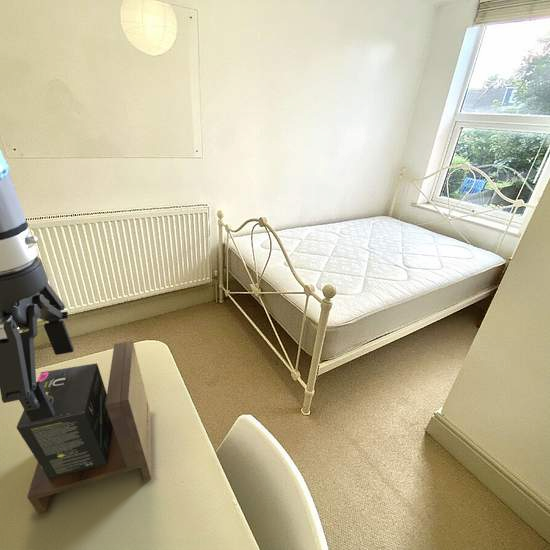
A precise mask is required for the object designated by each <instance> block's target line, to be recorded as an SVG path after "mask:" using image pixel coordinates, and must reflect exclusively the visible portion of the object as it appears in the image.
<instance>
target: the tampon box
mask: <svg viewBox="0 0 550 550" xmlns="http://www.w3.org/2000/svg"><path fill="white" fill-rule="evenodd" d="M39 381H40V382H41V384H42V386H43V388H44V390H45V392H46V394H47V397H48V399H49V401H50V403H51V405H52V407H53V409H54V411H55V414H54V417H52V418H47V419H43V420H39V421H34V422H31V421H30V419H29V417H28V415H27V413H26V412H25V410H24V409H23V411H22V414H21V416H20V418H19V420H18V422H17V425H16V426H15V428H16V429H17V431H18V432H19V434H20V436H21V438H22V439H23V441H24V442H25V443H26V446H27V447H28V448H29V450H30V452H31V453H32V454H33V456H34V458H35V460H36V461H37V463H38V462H39V464H40V466H41V467H42V469H43V471H44V472H45V474H46V476H47V478H48V479H50V478H53V477H58V476H62V475H66V474H70V473H74V472H78V471H82V470H86V469H90V468H94V467H98V466H102V465H106V464H107V459H108V453H109V446H110V439H111V432H112V423H111V420H110V417H109V414H108V411H107V408H106V405H105V404H106V397H107V389H106V387H105V383H104V380H103V378H102V374H101V371H100V368H99V364H98V363H97V362H96V363H95V362H94V363H89V364H84V365H77V366H72V367H71V366H70V367H65V368H59V369H53V370H47V371H40V374H39V376H38V379H37V380H36V382H39Z"/></svg>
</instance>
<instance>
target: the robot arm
mask: <svg viewBox="0 0 550 550" xmlns="http://www.w3.org/2000/svg"><path fill="white" fill-rule="evenodd" d="M38 239H39V238H38V237H37V236H36V235H32V233H31V230H30V226H29V223H28V221H27V218H26V215H25V212H24V210H23V207H22V204H21V201H20V198H19V195H18V193H17V190H16V188H15V185H14V182H13V179H12V176H11V172H10V165H9V164H8V161H7V160H6V158H5V157H4V155H3V153H2V150H0V396H1V401H2V403H3V404H7V403H10V402H17V401H19V403H20V404H21V406H22V408H23V411H24V410H25V412H26V413H27V415H28V417H29V419H30V421H31V422H34V421H39V420H43V419H47V418H52V417H54V414H55V411H54V409H53V407H52V405H51V403H50V401H49V399H48V397H47V394H46V392H45V390H44V388H43V386H42V384H41V382H40V381H39V382H37V374H36V372H37V371H36V355H35V338H36V337H37V336H38V334H39V332H38V320H39V319H40V320H42V321H44V322H45V323H44V325H43V329H44V331H45V333H46V336H47V339H48V340H49V343H50V345H51V347H52V351H53V352H54V355H55V356H58V355H63V354H71V353H74V350H75V348H74V345H73V343H72V339H71V337H70V335H69V332H68V329H67V326H66V323H65V321H64V320H66V319H69V312H68V311H64V310H65V308H66V306H65V304H64V302H63V301H62V299H61V298H60V297H59V295H58V294H57V293H56V291H55V290H54V288H52V286H51V285H50V283H49V277H48V275H47V272H46V269H45V266H44V264H43V261H42V259H41V258H40V257H38V255H39V252H38V249H37V246H36V244H37V243H38V242H39V240H38ZM24 330H26V331H24ZM20 331H22V332H20Z"/></svg>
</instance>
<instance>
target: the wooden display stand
mask: <svg viewBox="0 0 550 550" xmlns="http://www.w3.org/2000/svg"><path fill="white" fill-rule="evenodd" d="M110 364H111V365H110V369H109V371H110V372H109V377H108V383H107V384H108V385H107V390H106V393H107V397H106V404H105V405H106V408H107V411H108V414H109V417H110V420H111V423H112V432H111V439H110V446H109V453H108V459H107V464H106V465H102V466H98V467H94V468H90V469H86V470H82V471H78V472H74V473H70V474H66V475H62V476H58V477H53V478H50V479H48V478H47V476H46V474H45V472H44V471H43V469H42V467H41V466H40V464H39V462H38V461H37V464H36V467H35V471H34V473H33V477H32V479H31V482H30V486H29V490H28V492H27V497H26V498H27V500H28V501H29V503H30V504H31V505H32V507H33V508H34V510H35V511H36V513H37V514H38V515H41V514H45V513H47V512H48V510H49V509H48V508H49V505H50V500H51V496H52V495H55V494H57V493H61V492H64V491H69V490H71V489H74V488H78V487H82V486H85V485H87V484H91V483H95V482H98V481H102V480H105V479H108V478H111V477H115V476H119V475H121V474H125V473H128V472H131V471H134V470H138V469H140V470H141V474H142V477H143V481H144V482H147V481H151V480H152V414H151V410H150V404H149V401H148V397H147V393H146V389H145V385H144V380H143V377H142V373H141V369H140V365H139V361H138V356H137V353H136V348H135V344H134V340H129V341H122V342H117V343H114V344H113V350H112V357H111V363H110Z"/></svg>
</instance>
